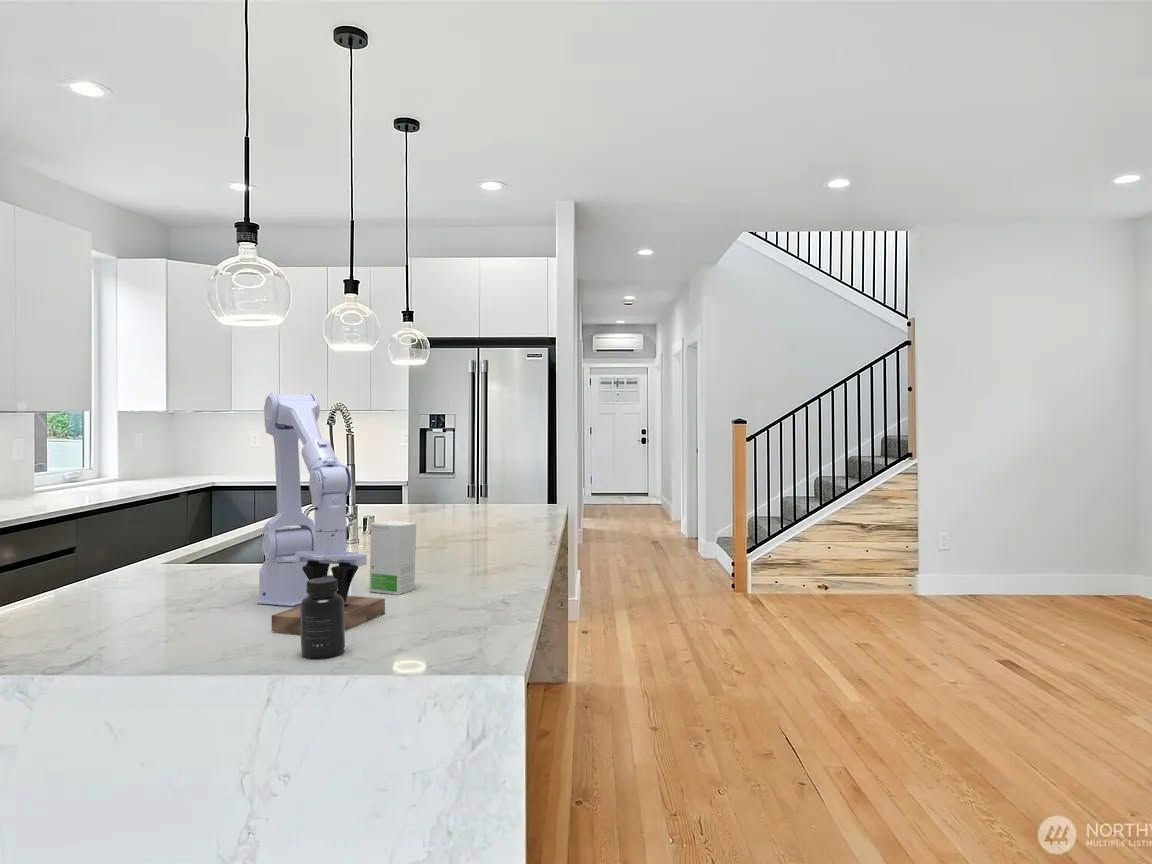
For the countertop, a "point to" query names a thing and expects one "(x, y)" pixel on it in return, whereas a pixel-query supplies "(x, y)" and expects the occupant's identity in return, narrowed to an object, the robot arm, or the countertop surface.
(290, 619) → the socket board
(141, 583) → the countertop surface
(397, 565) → the skincare box
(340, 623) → the supplement bottle
